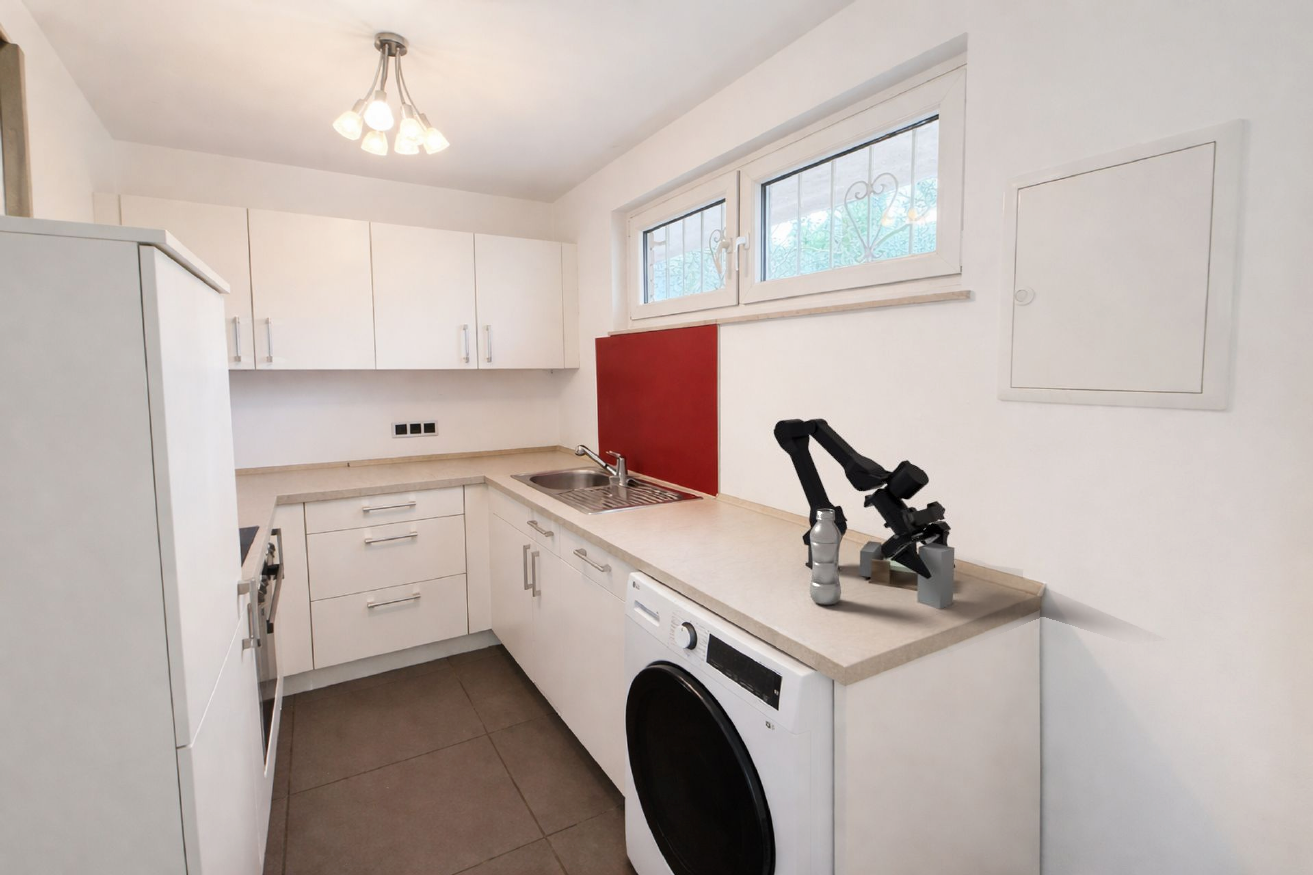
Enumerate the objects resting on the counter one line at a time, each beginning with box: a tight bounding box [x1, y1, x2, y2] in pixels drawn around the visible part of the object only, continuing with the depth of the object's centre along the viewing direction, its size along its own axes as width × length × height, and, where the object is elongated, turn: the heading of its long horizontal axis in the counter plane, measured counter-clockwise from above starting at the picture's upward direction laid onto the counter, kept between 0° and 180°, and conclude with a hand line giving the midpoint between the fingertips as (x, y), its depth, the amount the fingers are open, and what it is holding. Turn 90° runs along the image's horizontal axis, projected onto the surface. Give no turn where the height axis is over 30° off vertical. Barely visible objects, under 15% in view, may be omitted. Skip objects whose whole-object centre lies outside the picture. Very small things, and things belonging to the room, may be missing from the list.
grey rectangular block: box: [916, 543, 955, 610], centre depth 128 cm, size 5×5×12 cm
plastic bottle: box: [809, 509, 842, 606], centre depth 129 cm, size 6×7×20 cm
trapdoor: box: [859, 540, 916, 578], centre depth 143 cm, size 16×9×6 cm, turn 59°
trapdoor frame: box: [868, 553, 918, 591], centre depth 142 cm, size 16×12×6 cm
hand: (941, 573), depth 127 cm, fingers open, 9 cm apart
